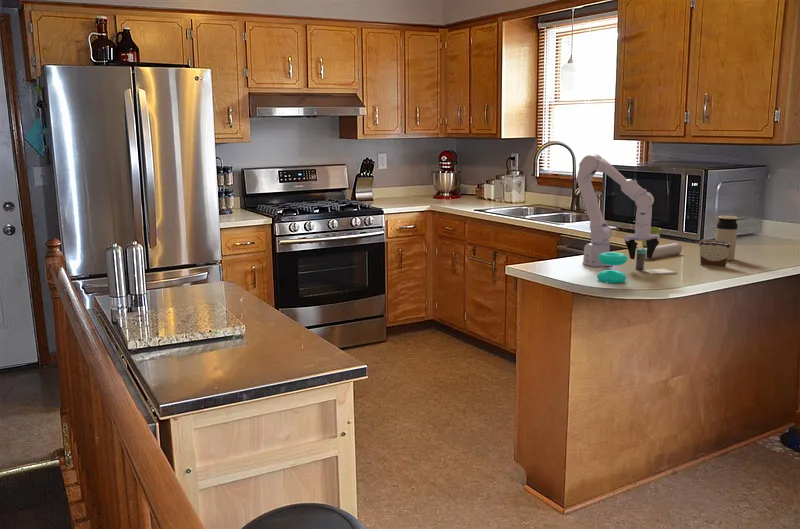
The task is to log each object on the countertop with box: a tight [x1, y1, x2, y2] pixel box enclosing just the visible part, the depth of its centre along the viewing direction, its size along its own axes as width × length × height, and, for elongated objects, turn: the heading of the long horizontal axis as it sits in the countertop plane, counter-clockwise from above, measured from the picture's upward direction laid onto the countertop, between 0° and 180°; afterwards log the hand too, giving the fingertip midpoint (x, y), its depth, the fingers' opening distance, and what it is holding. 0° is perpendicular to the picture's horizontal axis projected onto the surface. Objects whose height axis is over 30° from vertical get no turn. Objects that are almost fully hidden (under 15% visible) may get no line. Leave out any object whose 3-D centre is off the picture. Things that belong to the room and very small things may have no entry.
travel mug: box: [714, 215, 738, 261], centre depth 302 cm, size 8×8×18 cm
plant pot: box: [641, 226, 662, 248], centre depth 332 cm, size 9×9×9 cm
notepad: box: [641, 268, 678, 276], centre depth 274 cm, size 10×8×1 cm
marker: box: [635, 248, 646, 271], centre depth 279 cm, size 3×3×8 cm
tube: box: [643, 242, 683, 261], centre depth 307 cm, size 5×5×25 cm
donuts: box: [596, 251, 628, 284], centre depth 257 cm, size 10×10×10 cm
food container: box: [698, 239, 732, 269], centre depth 289 cm, size 12×6×10 cm, turn 59°
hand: (640, 258), depth 279 cm, fingers open, 7 cm apart
